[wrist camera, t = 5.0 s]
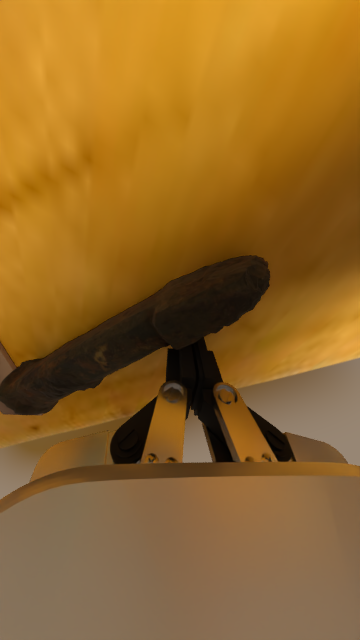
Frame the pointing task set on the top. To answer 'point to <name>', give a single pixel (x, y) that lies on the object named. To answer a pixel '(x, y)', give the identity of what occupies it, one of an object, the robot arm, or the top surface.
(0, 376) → the joist strip
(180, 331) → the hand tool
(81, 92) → the top surface
